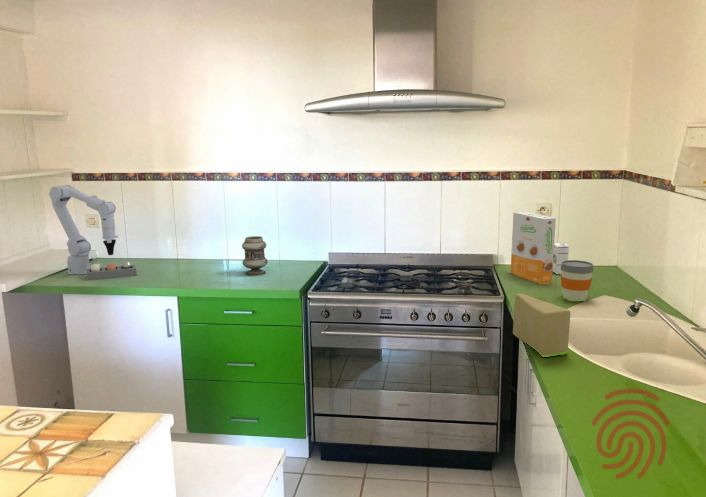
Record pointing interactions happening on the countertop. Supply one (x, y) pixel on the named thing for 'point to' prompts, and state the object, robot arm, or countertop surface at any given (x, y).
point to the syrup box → (559, 256)
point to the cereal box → (533, 246)
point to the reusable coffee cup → (576, 279)
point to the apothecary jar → (254, 255)
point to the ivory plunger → (95, 267)
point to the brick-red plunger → (111, 267)
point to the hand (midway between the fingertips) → (110, 254)
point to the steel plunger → (126, 264)
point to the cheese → (541, 324)
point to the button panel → (111, 273)
